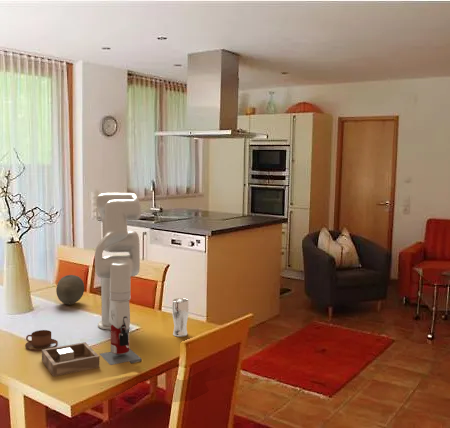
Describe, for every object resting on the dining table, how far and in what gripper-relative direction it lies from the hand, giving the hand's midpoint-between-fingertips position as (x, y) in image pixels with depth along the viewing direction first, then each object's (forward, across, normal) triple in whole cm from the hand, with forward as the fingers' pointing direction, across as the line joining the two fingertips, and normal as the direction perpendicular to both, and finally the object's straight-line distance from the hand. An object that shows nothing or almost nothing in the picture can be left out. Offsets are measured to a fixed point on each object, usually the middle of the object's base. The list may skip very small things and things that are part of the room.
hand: (120, 341), depth 193 cm
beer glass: (+7, -13, +32) cm, 35 cm away
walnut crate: (+7, -2, -18) cm, 19 cm away
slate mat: (+7, 0, 0) cm, 7 cm away
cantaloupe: (+7, -79, +4) cm, 79 cm away
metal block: (+6, -5, -19) cm, 20 cm away
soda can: (+4, 0, 0) cm, 4 cm away
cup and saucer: (+7, -25, -23) cm, 34 cm away
